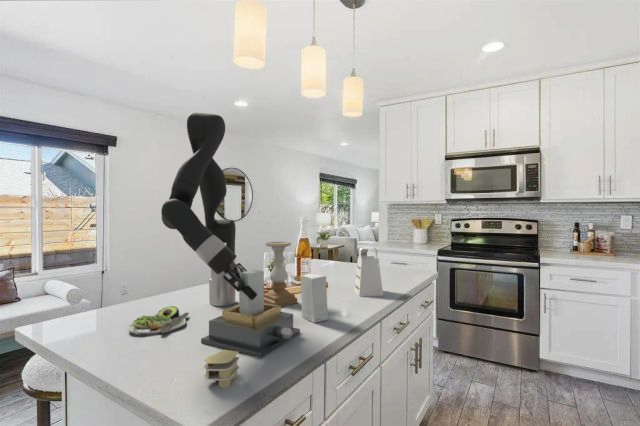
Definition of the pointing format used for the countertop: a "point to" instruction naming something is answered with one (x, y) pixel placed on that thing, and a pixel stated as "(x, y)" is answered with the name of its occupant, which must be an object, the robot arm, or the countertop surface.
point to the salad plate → (159, 322)
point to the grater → (368, 275)
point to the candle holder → (279, 278)
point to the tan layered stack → (222, 367)
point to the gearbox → (251, 330)
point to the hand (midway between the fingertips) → (256, 294)
